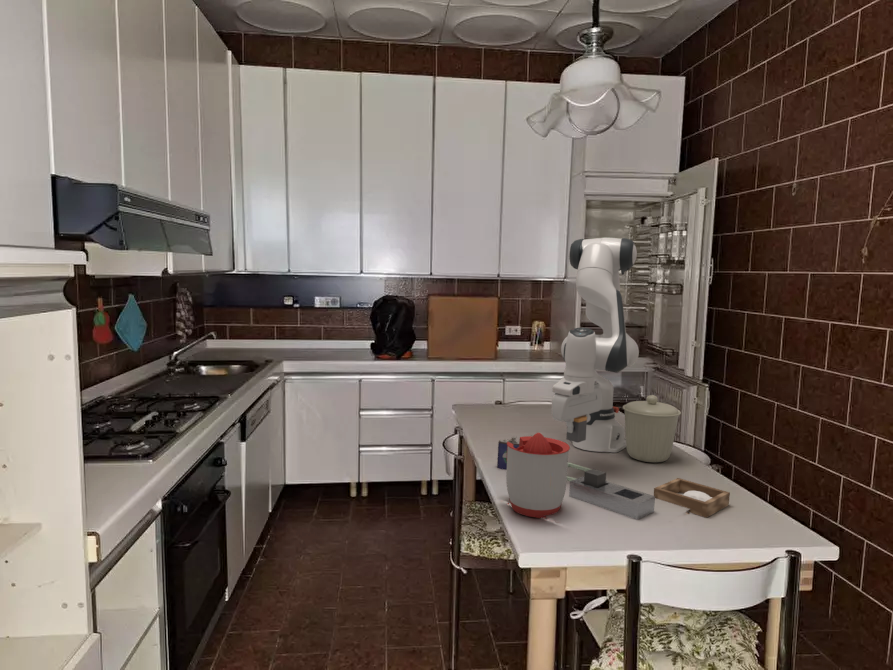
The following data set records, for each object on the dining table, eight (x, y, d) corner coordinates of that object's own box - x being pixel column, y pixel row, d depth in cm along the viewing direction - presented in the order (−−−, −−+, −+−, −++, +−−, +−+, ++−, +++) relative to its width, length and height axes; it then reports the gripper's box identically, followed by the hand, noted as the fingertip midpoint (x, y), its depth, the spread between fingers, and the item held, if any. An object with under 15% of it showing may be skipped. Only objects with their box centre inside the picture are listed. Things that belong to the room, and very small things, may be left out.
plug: (574, 436, 186) (575, 413, 185) (585, 439, 183) (586, 416, 182) (566, 439, 183) (567, 416, 182) (577, 442, 180) (578, 419, 179)
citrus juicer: (519, 492, 170) (523, 420, 167) (577, 509, 159) (581, 432, 157) (485, 508, 158) (489, 430, 155) (545, 528, 147) (550, 445, 144)
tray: (568, 467, 192) (568, 462, 192) (602, 478, 183) (602, 472, 183) (544, 475, 184) (544, 469, 184) (578, 487, 175) (578, 480, 175)
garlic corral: (677, 489, 176) (678, 477, 175) (728, 505, 165) (729, 492, 165) (653, 500, 167) (654, 488, 166) (706, 517, 156) (707, 504, 156)
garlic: (718, 507, 164) (719, 493, 164) (708, 514, 159) (709, 500, 159) (688, 499, 169) (689, 485, 169) (677, 505, 165) (678, 491, 164)
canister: (681, 469, 195) (686, 403, 192) (621, 463, 198) (625, 398, 196) (672, 453, 212) (677, 392, 210) (617, 448, 216) (621, 388, 214)
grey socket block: (586, 492, 171) (587, 475, 170) (653, 515, 156) (655, 496, 156) (568, 499, 166) (569, 481, 165) (637, 523, 151) (638, 503, 151)
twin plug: (591, 494, 167) (593, 468, 167) (604, 498, 164) (606, 472, 164) (583, 497, 165) (584, 471, 164) (595, 501, 162) (597, 475, 161)
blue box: (528, 470, 188) (529, 436, 187) (527, 473, 185) (528, 438, 184) (497, 467, 190) (499, 433, 189) (496, 470, 187) (497, 436, 186)
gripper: (590, 377, 190) (587, 421, 192) (548, 387, 176) (546, 434, 178) (608, 381, 186) (605, 426, 188) (567, 391, 172) (564, 439, 174)
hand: (576, 430), depth 183 cm, fingers closed on plug, 4 cm apart
